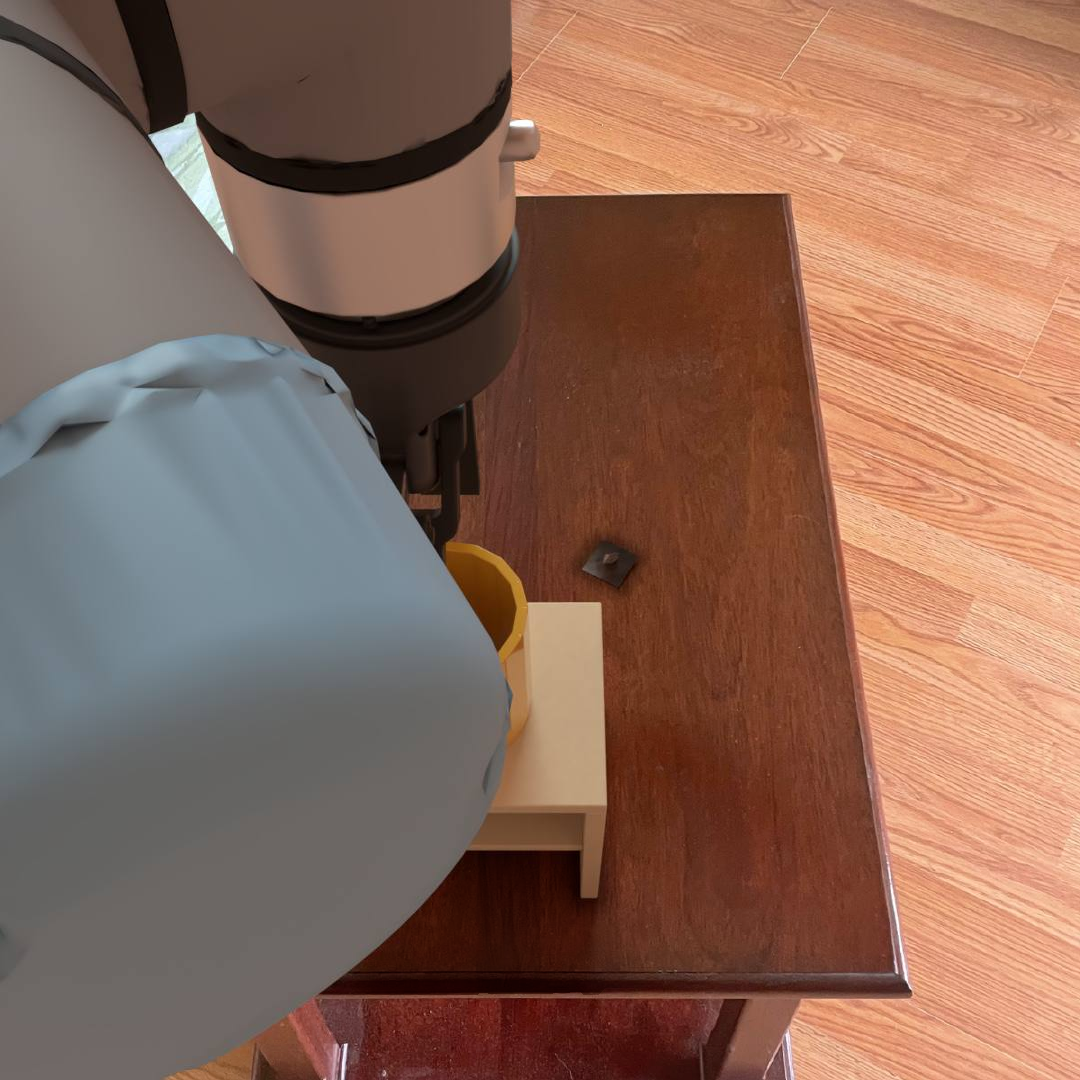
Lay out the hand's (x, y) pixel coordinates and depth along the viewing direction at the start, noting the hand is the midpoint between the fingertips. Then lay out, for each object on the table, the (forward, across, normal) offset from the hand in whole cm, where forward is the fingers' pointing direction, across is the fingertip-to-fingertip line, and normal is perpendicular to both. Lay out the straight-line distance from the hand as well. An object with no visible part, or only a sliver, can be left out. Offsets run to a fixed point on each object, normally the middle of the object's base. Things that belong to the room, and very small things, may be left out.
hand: (442, 617), depth 47 cm
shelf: (+25, 0, 0) cm, 25 cm away
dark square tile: (+25, +18, -9) cm, 32 cm away
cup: (+9, 0, 0) cm, 9 cm away
